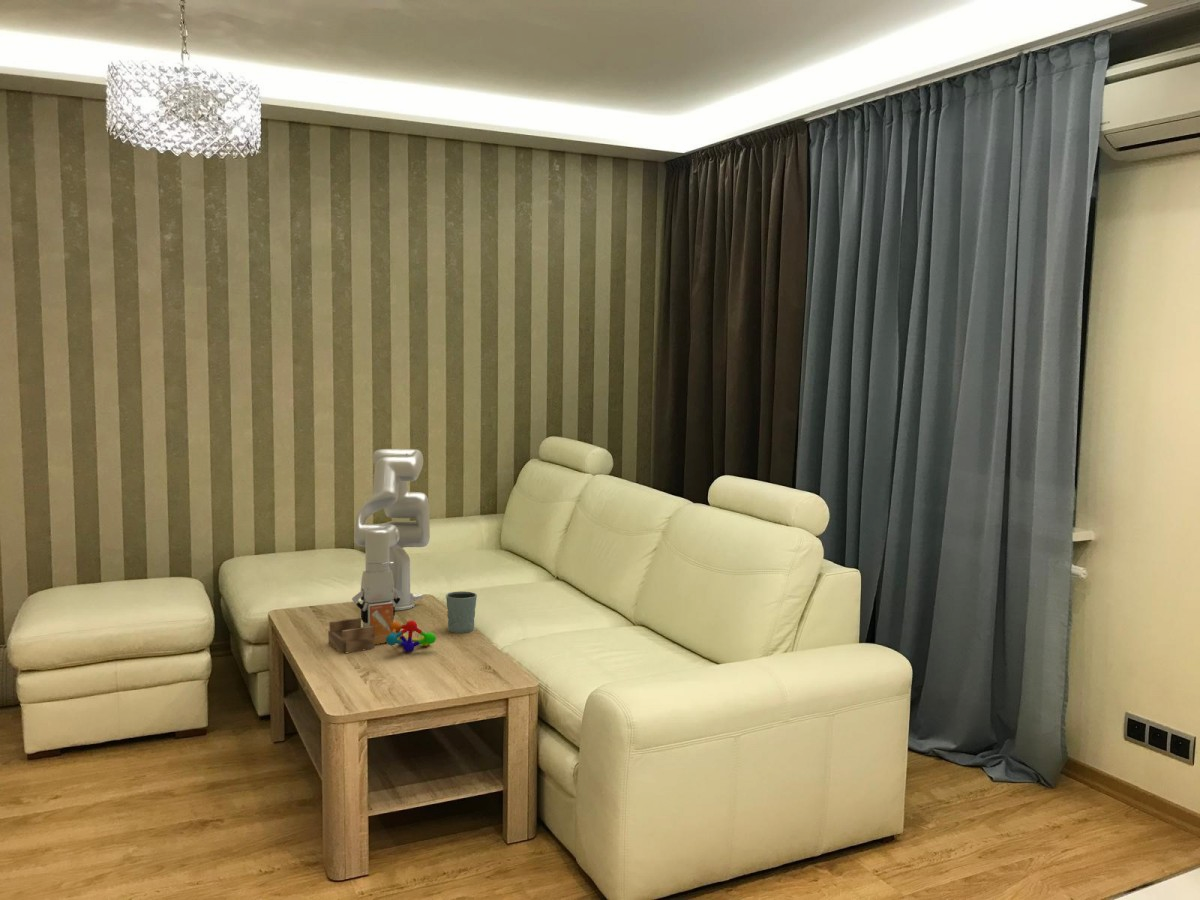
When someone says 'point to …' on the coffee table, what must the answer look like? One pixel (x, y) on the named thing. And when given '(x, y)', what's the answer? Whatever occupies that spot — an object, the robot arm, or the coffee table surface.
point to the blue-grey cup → (461, 611)
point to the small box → (380, 620)
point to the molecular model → (407, 640)
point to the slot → (350, 635)
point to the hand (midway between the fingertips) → (378, 620)
